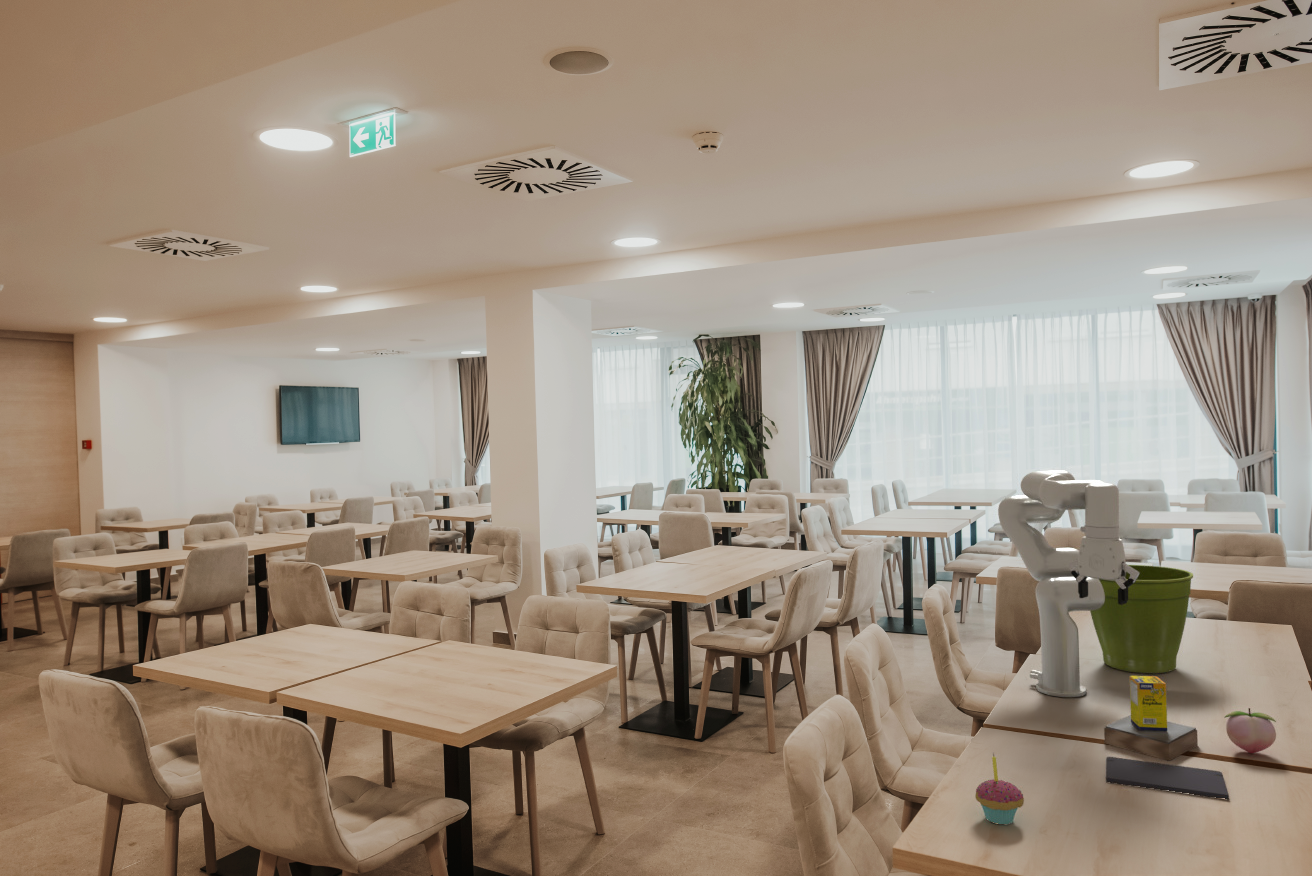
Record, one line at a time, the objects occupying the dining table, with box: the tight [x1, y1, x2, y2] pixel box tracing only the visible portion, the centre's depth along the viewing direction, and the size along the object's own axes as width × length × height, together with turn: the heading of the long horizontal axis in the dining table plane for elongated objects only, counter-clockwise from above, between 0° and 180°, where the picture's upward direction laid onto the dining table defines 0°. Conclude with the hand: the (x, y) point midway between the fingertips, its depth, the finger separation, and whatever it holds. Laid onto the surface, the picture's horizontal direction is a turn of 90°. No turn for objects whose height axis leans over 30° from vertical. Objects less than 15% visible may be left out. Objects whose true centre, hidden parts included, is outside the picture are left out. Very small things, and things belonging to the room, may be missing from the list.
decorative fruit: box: [1224, 707, 1277, 754], centre depth 190 cm, size 9×8×10 cm
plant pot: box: [1089, 564, 1194, 674], centre depth 259 cm, size 30×30×29 cm
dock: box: [1103, 714, 1199, 762], centre depth 197 cm, size 14×14×4 cm
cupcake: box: [974, 752, 1025, 825], centre depth 162 cm, size 9×8×12 cm
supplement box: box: [1129, 675, 1168, 731], centre depth 197 cm, size 6×6×11 cm
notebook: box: [1105, 756, 1230, 800], centre depth 178 cm, size 13×2×21 cm
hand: (1102, 600), depth 215 cm, fingers open, 9 cm apart
